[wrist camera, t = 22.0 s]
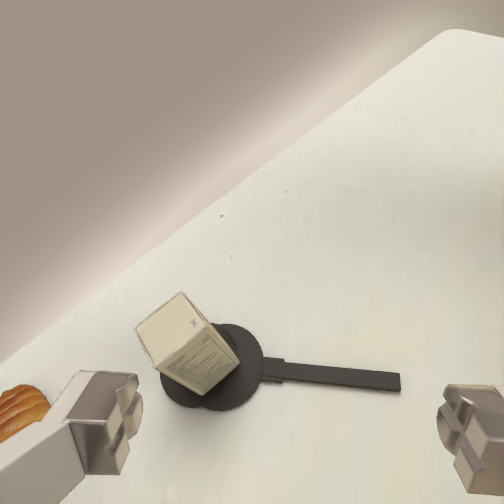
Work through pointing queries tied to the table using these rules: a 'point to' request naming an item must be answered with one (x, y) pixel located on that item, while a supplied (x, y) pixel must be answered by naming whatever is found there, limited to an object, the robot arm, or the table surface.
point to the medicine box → (185, 345)
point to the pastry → (21, 409)
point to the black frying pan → (268, 375)
